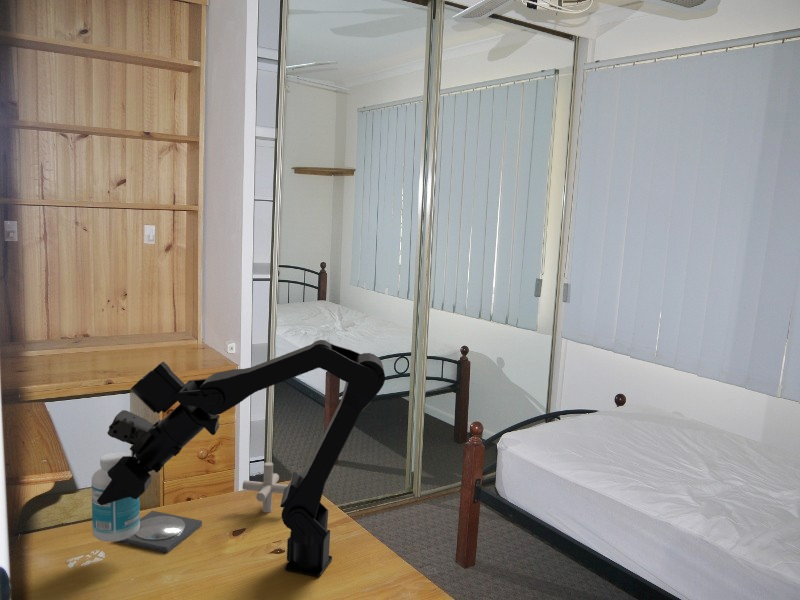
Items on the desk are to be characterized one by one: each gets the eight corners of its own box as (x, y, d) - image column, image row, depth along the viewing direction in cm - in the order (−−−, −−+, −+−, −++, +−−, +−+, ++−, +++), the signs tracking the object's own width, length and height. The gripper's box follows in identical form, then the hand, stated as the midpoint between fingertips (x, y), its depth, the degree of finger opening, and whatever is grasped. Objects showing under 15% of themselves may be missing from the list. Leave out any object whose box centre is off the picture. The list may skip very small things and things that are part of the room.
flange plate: (201, 525, 128) (202, 519, 128) (167, 553, 118) (167, 546, 118) (152, 515, 131) (152, 509, 131) (114, 541, 120) (114, 535, 120)
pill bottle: (139, 520, 118) (139, 447, 116) (139, 540, 111) (139, 463, 109) (93, 525, 115) (92, 450, 114) (90, 546, 109) (89, 467, 107)
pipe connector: (297, 502, 141) (299, 457, 139) (284, 524, 131) (286, 475, 129) (250, 497, 142) (252, 452, 140) (234, 519, 132) (236, 470, 130)
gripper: (156, 382, 120) (93, 440, 120) (121, 415, 101) (46, 482, 102) (200, 426, 121) (138, 482, 122) (173, 465, 103) (100, 532, 104)
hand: (107, 492), depth 112 cm, fingers closed on pill bottle, 7 cm apart
